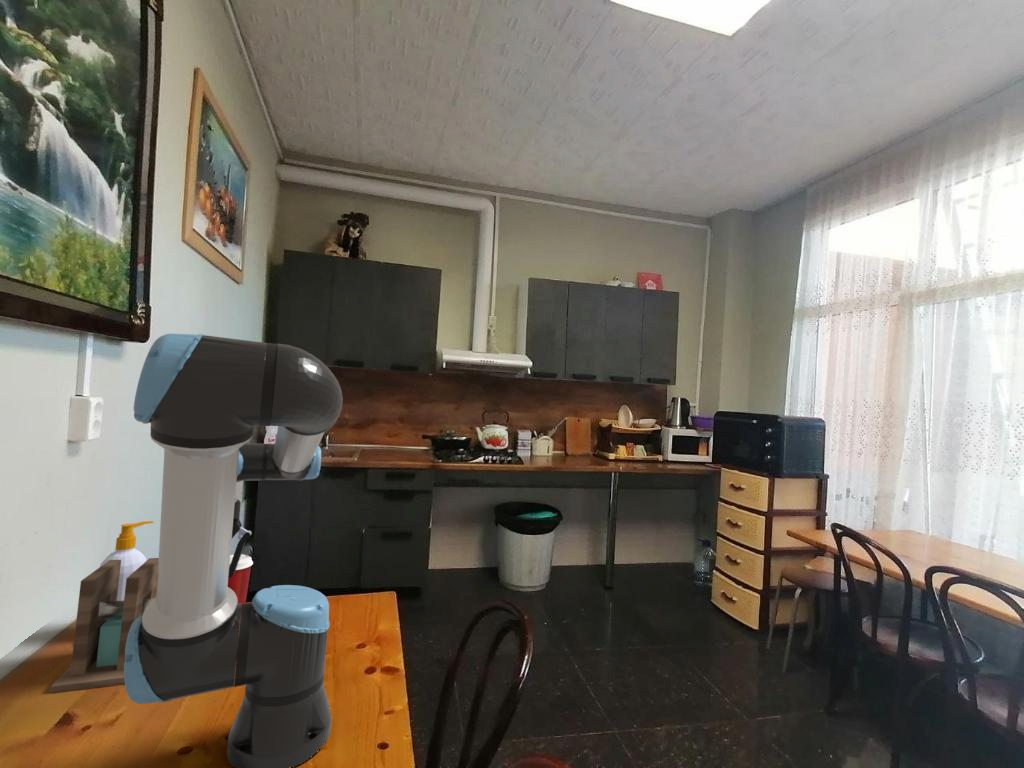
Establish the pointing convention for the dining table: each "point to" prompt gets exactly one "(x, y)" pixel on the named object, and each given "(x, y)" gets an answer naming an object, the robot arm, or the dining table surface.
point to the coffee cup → (241, 578)
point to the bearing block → (88, 624)
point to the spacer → (109, 642)
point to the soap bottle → (126, 555)
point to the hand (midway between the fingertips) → (212, 610)
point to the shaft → (117, 608)
